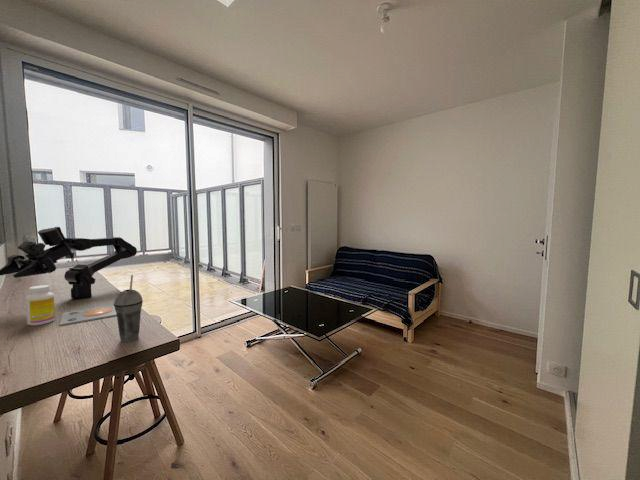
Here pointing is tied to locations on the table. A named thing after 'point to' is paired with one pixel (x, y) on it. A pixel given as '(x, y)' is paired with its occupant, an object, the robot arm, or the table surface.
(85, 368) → the table surface
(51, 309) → the supplement bottle
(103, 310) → the plate
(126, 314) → the beverage cup
